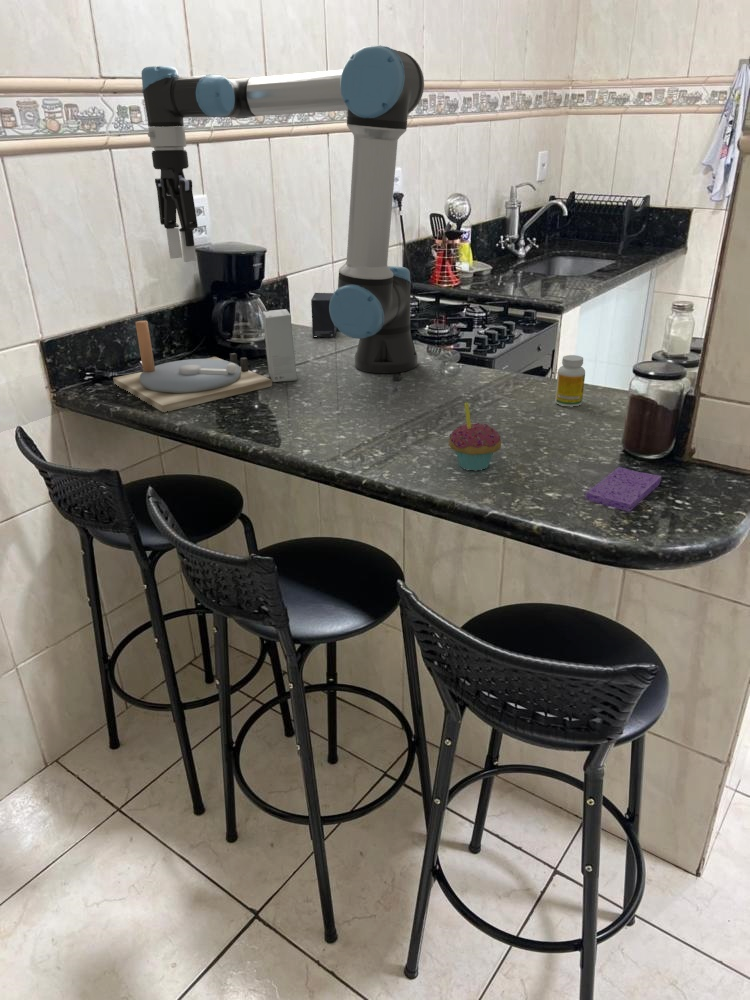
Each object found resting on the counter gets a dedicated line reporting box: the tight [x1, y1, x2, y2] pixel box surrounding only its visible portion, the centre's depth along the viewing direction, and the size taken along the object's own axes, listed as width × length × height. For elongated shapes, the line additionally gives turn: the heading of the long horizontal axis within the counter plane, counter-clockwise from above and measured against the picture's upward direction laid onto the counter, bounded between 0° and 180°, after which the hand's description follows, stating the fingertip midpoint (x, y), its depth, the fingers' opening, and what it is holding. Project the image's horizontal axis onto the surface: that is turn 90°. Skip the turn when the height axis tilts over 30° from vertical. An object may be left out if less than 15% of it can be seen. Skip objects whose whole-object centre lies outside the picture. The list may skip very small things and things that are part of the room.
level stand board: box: [112, 352, 273, 413], centre depth 166 cm, size 26×26×4 cm
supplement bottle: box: [554, 354, 586, 408], centre depth 149 cm, size 5×5×10 cm
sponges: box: [584, 466, 662, 512], centre depth 114 cm, size 7×13×2 cm, turn 141°
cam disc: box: [135, 320, 241, 393], centre depth 163 cm, size 22×22×12 cm
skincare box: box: [262, 308, 298, 383], centre depth 168 cm, size 8×6×15 cm
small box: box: [310, 292, 338, 338], centre depth 206 cm, size 11×6×10 cm, turn 179°
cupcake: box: [448, 398, 502, 471], centre depth 121 cm, size 9×8×12 cm
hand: (183, 259), depth 171 cm, fingers open, 6 cm apart
